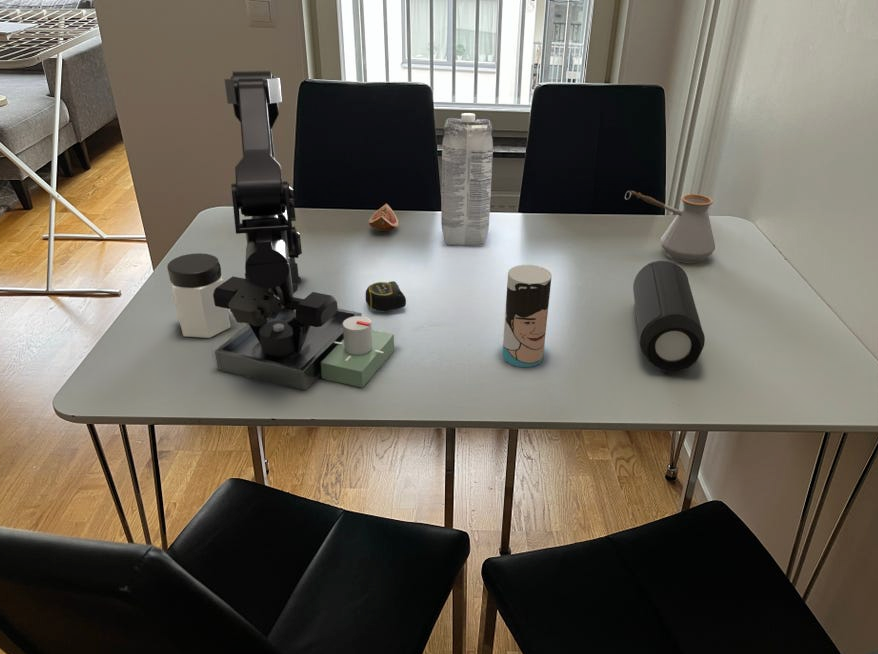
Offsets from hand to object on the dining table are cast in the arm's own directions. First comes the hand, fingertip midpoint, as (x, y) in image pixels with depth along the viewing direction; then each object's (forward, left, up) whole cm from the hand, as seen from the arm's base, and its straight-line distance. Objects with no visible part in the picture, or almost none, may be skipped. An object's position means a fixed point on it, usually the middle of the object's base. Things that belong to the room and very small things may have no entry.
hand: (281, 348), depth 113 cm
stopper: (0, 0, -1) cm, 1 cm away
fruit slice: (-8, +56, -2) cm, 57 cm away
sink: (0, +3, -2) cm, 4 cm away
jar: (-18, +4, -2) cm, 19 cm away
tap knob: (+12, +4, +1) cm, 13 cm away
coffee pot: (+54, +66, -2) cm, 86 cm away
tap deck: (+12, +3, -2) cm, 13 cm away
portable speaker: (+57, +30, -2) cm, 65 cm away
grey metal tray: (0, +3, -2) cm, 4 cm away
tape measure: (+8, +23, -2) cm, 25 cm away
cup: (+36, +15, -2) cm, 39 cm away
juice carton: (+11, +58, -2) cm, 60 cm away
